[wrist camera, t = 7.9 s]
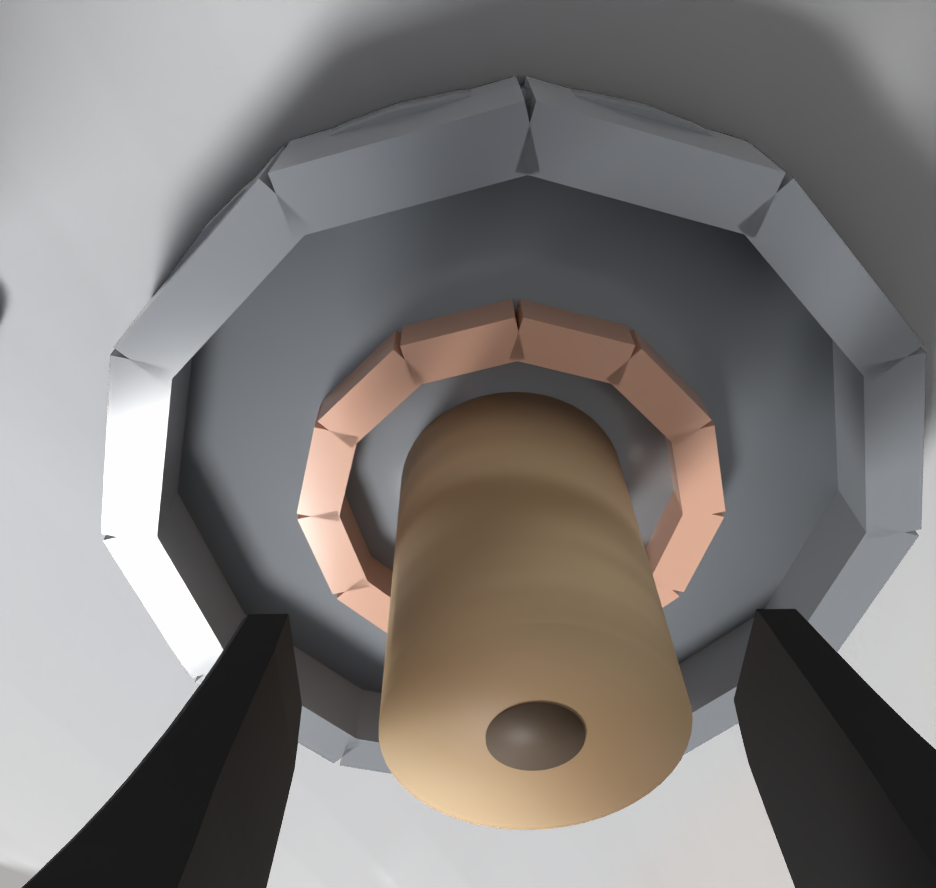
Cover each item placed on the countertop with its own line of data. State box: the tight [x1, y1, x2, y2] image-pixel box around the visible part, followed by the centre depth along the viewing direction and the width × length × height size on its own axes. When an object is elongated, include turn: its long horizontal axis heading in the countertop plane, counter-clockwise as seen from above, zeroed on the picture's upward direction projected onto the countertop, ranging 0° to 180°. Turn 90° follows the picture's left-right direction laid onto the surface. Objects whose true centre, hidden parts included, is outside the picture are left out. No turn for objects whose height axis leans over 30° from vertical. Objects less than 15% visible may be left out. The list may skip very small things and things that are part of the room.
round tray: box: [101, 76, 926, 774], centre depth 17 cm, size 15×15×2 cm
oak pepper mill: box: [379, 392, 693, 830], centre depth 14 cm, size 4×4×6 cm
